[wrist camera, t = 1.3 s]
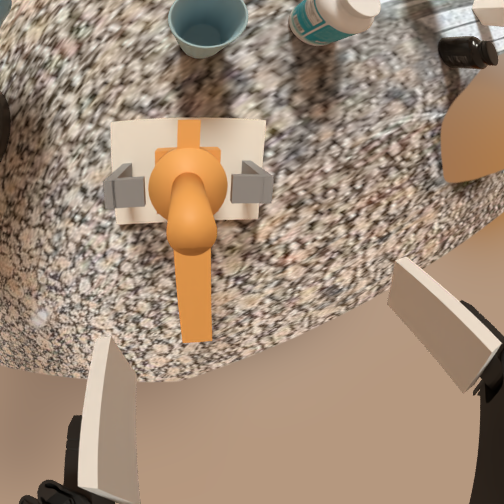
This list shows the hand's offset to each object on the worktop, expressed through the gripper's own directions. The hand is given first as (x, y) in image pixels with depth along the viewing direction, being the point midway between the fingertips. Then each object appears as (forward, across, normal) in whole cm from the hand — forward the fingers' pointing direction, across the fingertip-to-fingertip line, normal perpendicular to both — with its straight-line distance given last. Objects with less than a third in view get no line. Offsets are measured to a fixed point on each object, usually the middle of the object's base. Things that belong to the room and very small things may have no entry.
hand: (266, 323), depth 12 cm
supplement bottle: (+29, +50, +21) cm, 62 cm away
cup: (+29, +2, +19) cm, 35 cm away
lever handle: (+25, -3, 0) cm, 25 cm away
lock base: (+29, -2, +1) cm, 29 cm away
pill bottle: (+29, +18, +20) cm, 40 cm away
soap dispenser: (+29, +70, +38) cm, 85 cm away
